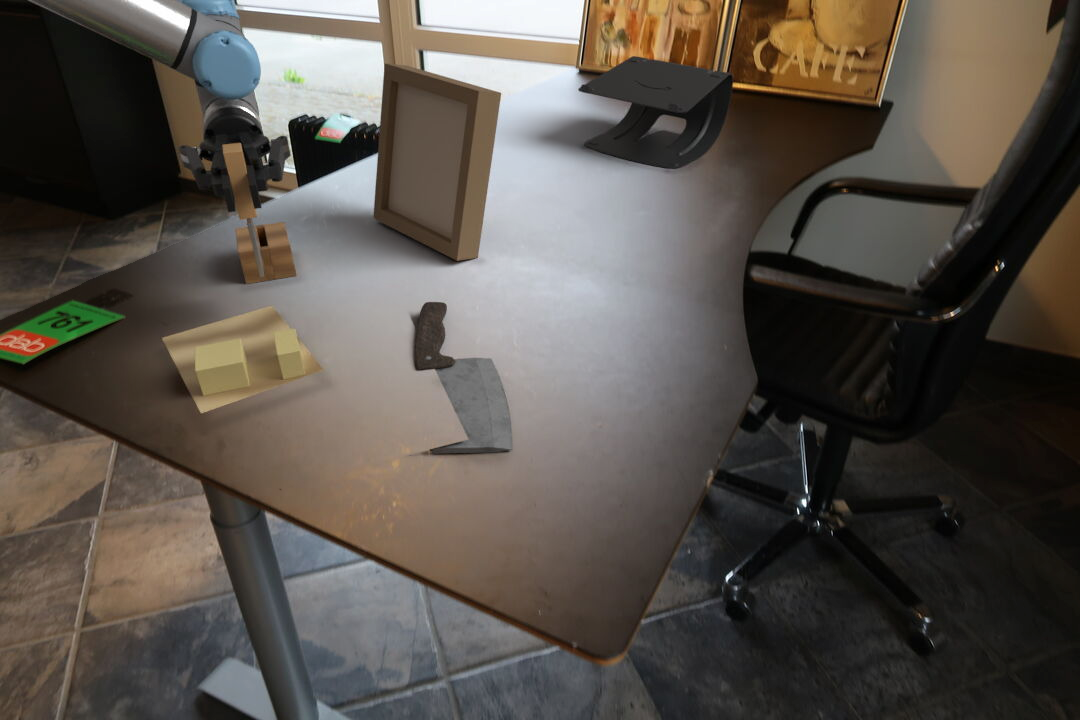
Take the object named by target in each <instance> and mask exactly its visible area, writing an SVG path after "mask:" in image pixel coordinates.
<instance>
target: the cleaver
mask: <svg viewBox="0 0 1080 720" xmlns="http://www.w3.org/2000/svg"><path fill="white" fill-rule="evenodd" d="M447 311H448V306H447V304H446V303H445V302H442V301H427V302H424V303H423V304H422V306H421V308H420V312H419V314H418V318H417V324H416V330H415V336H414V337H415V339H414V366H415V371H416V372H418V371H419V372H420V371H421V372H422V371H429V370H435V373H436V374H437V377H438V379H439V381H440V383H441V386H442V387H443V389H444V391H445V394H446V396H447V397H448V399H449V402H450V404H451V406H452V408H453V410H454V412H455V414H456V416H457V419H458V420H459V423H460V424H461V426H462V427H461V428H462V429H463V431H464V434H465V435H466V437H467V439H464V440H461V441H457V442H453V443H449V444H445V445H442V446H437V447H433V448H430V449H429V451H430V453H431V454H485V453H486V454H487V453H488V454H490V453H491V454H493V453H501V452H507V451H513V435H512V434H513V433H512V422H511V415H510V409H509V405H508V400H507V396H506V392H505V389H504V386H503V383H502V380H501V378H500V375H499V372H498V370H497V368H496V365H495V364H494V360H493V358H486V357H466V358H454V357H453V356H449V355H443V354H442V353H441V352H440V351H441V349H442V348H443V344H444V343H445V340H446V328H445V325H444V322H443V321H444V319H445V316H446V315H447Z"/></svg>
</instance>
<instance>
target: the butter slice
mask: <svg viewBox="0 0 1080 720" xmlns="http://www.w3.org/2000/svg"><path fill="white" fill-rule="evenodd" d="M296 331H297V330H296V328H291V329H290V330H284V331H279V332H274V333H273V334H274V340H275V346H276V351H277V356H278V361H279V365H280V369H281V373H282V377H283V379H288V378H293V377H298V376H303V375H305V371H304V366H303V362H302V357H301V353H300V348H299V344H298V339H297V337H298V334H297V332H296Z"/></svg>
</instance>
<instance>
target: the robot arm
mask: <svg viewBox="0 0 1080 720" xmlns="http://www.w3.org/2000/svg"><path fill="white" fill-rule="evenodd" d="M27 1H29V2H30V3H33V4H34V5H37V6H39V7H41V8H43V9H45V10H48V11H49V12H52V13H53V14H56V15H58V16H60V17H63V18H64V19H67V20H69V21H71V22H73V23H75V24H77V25H79V26H82V27H84V28H85V29H88V30H90V31H92V32H95V33H96V34H99V36H100V35H101V36H103V37H105V38H107V39H109V40H111V41H114V42H116V43H117V44H120V45H122V46H124V47H126V48H128V49H130V50H132V51H135V52H136V53H139V54H141V55H143V56H145V57H148V58H150V59H151V60H153V61H156V62H158V63H160V64H162V65H164V66H166V67H168V68H170V69H172V70H174V71H176V72H178V73H180V74H181V75H184V76H186V77H188V78H190V79H192V80H194V84H195V88H196V89H195V90H196V92H197V96H198V101H199V103H200V107H201V108H200V109H201V113H202V118H203V119H202V121H203V122H202V131H203V132H202V134H203V136H202V137H203V138H202V139H203V140H202V141H201V142H200V143H199V146H198V147H197V146H190V145H187V144H182V145H179V146H178V147H177V148H178V151H179V154H180V158H181V161H182V165H183V167H184V168H186V169H187V170H190V171H191V175H193V178H194V181H195V182H196V183H195V184H196V185H197V187H198V189H199V190H200V191H207V190H209V189H210V188H211V187H212V189H213V192H214V196H215V197H224V200H225V204H226V208H227V212H228V213H233V212H237V209H236V203H235V199H234V195H233V191H232V187H231V183H230V179H229V175H228V171H227V167H226V163H225V159H224V155H223V147H222V145H224V144H234V143H241V146H242V150H243V154H244V159H245V163H246V169H247V176H248V183H249V188H250V192H251V196H252V201H253V205H254V209H256V210H258V209H262V204H261V203H262V202H261V198H260V197H261V196H260V193H261V192H267V191H269V184H268V182H269V180H271V181H272V182H274V183H279V182H282V181H283V179H284V178H283V177H284V172H285V165H286V161H287V159H289V158H290V157H291V155H292V154H291V149H290V144H289V139H288V136H287V135H279V136H278V137H276V138H271V139H269V137H268V136H266V135H265V134H264V129H263V125H262V121H261V118H260V109H259V105H258V100H257V98H256V93H255V89H256V88H257V87H258V85H259V84H260V80H261V75H262V67H261V62H260V58H259V54H258V52H257V49H256V48H255V46H254V45H253V43H251V42H250V40H249V39H248V38H246V37H245V34H244V33H243V32H242V27H241V23H240V19H241V18H240V16H239V15H240V14H238V10H237V7H236V3H235V0H27ZM267 155H268V158H267V163H266V164H264V161H263V157H265V156H267ZM203 160H205V161H208V162H211V166H210V170H207V169H206V167H205V165H204V163H203Z"/></svg>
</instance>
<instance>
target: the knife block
mask: <svg viewBox="0 0 1080 720" xmlns="http://www.w3.org/2000/svg"><path fill="white" fill-rule="evenodd" d="M254 228H255V232H256V236H257V241H258V245H259V249H260V253H261V259H262V265H263V271H264V277H260V275H259V271H258V267H257V263H256V259H255V255H254V250H253V246H252V242H251V238H250V234H249V230H248V226H244V227H237V228H236V227H235V228H234V230H235V238H236V247H237V253H238V258H239V262H240V266H241V269H242V274H243V277H244V280H245V284H246V285H248V284H249V285H250V284H254V283H261V282H267V281H274V280H279V279H285V278H291V277H297V271H296V267H295V261H294V257H293V252H292V247H291V243H290V239H289V235H288V231H287V227H286V224H285V221H279V222H273V223H272V222H271V223H265V224H258V225H256V224H255V225H254Z"/></svg>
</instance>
